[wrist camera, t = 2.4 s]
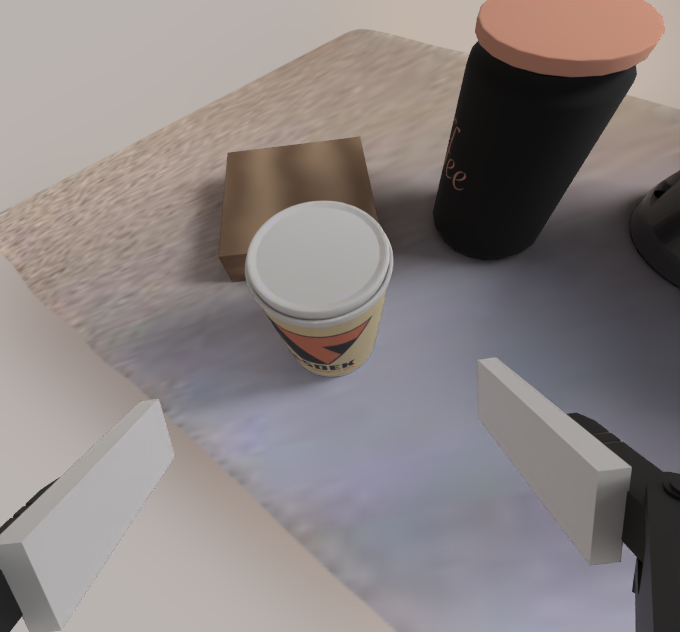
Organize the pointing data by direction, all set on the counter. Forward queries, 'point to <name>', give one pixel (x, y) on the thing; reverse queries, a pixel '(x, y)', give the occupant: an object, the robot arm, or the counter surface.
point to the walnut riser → (287, 189)
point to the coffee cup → (322, 282)
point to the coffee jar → (534, 113)
